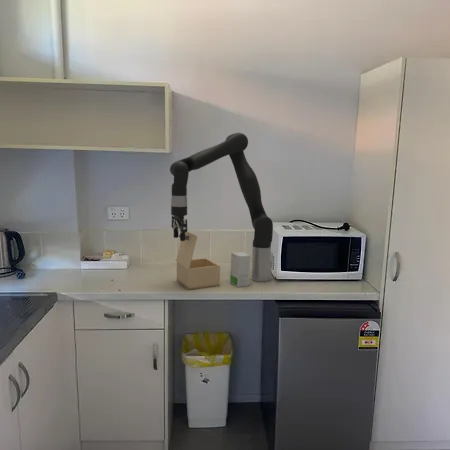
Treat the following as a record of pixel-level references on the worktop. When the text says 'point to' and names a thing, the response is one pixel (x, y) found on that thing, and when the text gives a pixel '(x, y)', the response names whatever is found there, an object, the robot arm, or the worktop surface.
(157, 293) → the worktop surface
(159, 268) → the worktop surface
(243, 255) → the skincare box
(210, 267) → the carton
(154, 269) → the worktop surface
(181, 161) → the robot arm
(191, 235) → the lid flap
